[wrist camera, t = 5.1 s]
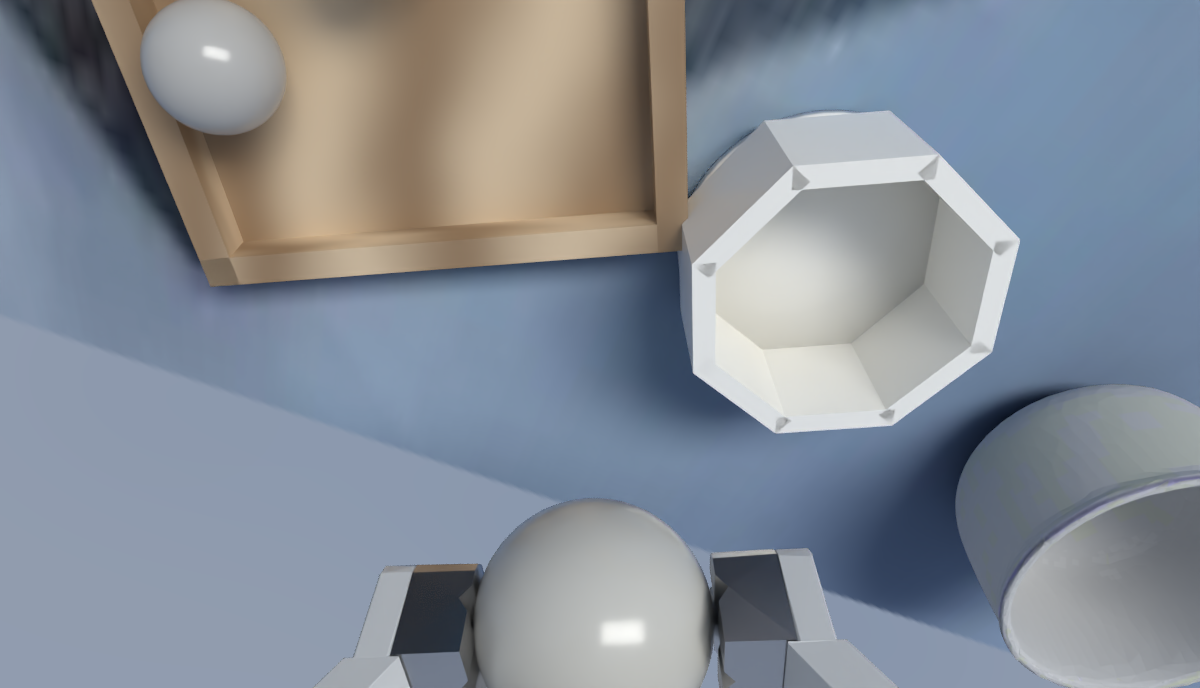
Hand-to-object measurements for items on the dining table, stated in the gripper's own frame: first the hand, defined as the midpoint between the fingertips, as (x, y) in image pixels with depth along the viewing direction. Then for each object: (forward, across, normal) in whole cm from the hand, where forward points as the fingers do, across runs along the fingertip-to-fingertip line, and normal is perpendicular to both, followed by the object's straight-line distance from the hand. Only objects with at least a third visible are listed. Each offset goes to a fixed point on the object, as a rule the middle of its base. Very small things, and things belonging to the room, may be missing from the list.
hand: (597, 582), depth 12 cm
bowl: (+16, -7, +2) cm, 18 cm away
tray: (+16, +5, -6) cm, 18 cm away
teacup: (+17, -20, +12) cm, 29 cm away
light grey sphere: (+1, 0, 0) cm, 1 cm away
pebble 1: (+15, +10, -6) cm, 19 cm away
